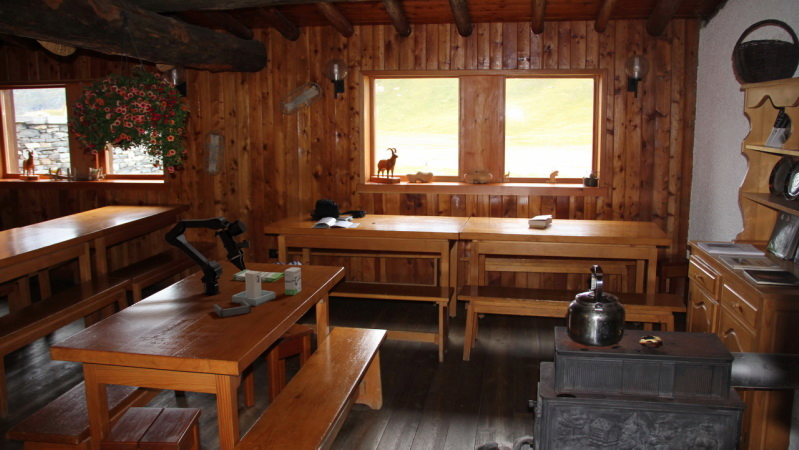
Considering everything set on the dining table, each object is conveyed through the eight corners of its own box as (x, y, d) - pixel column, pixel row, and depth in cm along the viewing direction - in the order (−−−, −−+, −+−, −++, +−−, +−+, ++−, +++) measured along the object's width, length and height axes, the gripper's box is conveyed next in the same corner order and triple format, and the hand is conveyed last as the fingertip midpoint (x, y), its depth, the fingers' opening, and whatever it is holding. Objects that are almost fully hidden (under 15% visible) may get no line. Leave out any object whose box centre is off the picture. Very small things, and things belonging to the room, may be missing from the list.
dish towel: (245, 273, 362) (245, 267, 361) (285, 275, 357) (285, 269, 357) (231, 281, 345) (231, 274, 344) (273, 283, 341) (273, 276, 340)
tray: (232, 302, 306) (231, 295, 306) (252, 294, 318) (251, 288, 318) (256, 306, 300) (255, 299, 299) (275, 298, 312) (275, 292, 311)
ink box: (294, 295, 317) (293, 271, 315) (284, 294, 318) (283, 270, 316) (301, 290, 325) (301, 267, 323) (292, 290, 326) (291, 266, 324)
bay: (214, 310, 293) (213, 304, 292) (243, 306, 299) (243, 299, 299) (220, 317, 284) (220, 310, 283) (251, 312, 290) (251, 305, 290)
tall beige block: (246, 299, 308) (245, 273, 306) (253, 296, 312) (252, 270, 310) (256, 300, 305) (255, 274, 303) (263, 298, 309) (262, 272, 307)
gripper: (241, 233, 306) (257, 263, 306) (246, 233, 324) (261, 261, 325) (219, 244, 304) (235, 274, 305) (225, 243, 323) (240, 272, 324)
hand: (244, 270), depth 315 cm, fingers open, 9 cm apart
